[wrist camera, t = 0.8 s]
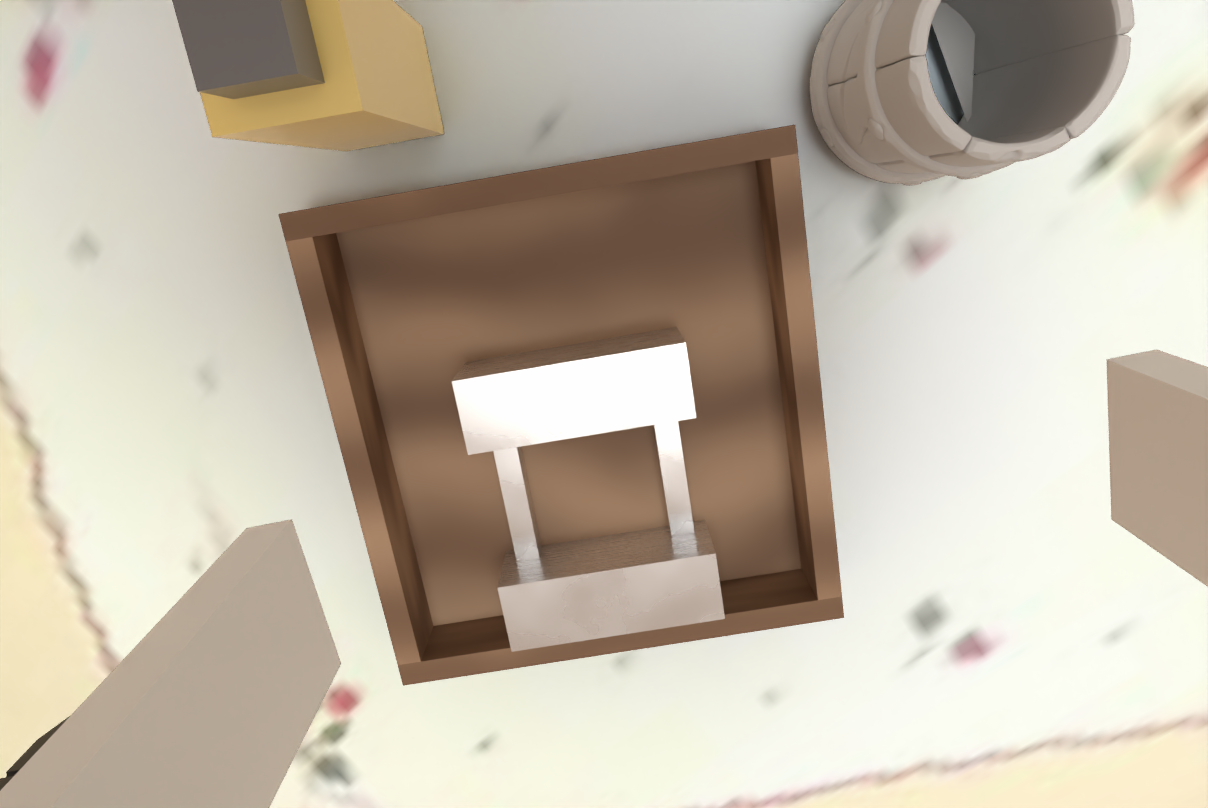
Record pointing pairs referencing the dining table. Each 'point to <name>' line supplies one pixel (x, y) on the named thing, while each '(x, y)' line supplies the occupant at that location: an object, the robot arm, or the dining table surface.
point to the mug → (964, 82)
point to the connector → (311, 71)
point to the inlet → (607, 563)
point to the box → (563, 317)
